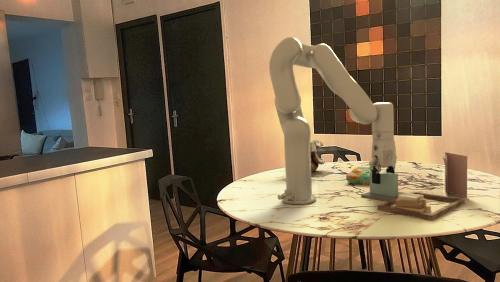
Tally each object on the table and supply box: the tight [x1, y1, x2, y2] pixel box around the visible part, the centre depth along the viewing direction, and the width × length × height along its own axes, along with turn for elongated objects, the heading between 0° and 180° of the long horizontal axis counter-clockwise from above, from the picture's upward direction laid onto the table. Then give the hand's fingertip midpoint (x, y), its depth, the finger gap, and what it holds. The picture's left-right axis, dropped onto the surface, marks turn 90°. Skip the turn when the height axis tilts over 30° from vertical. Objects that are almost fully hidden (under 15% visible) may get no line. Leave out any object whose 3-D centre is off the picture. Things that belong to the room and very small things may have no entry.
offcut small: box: [398, 192, 424, 203], centre depth 134 cm, size 5×6×2 cm
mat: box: [360, 191, 405, 202], centre depth 155 cm, size 12×12×1 cm
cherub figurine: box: [310, 139, 334, 178], centre depth 202 cm, size 18×18×18 cm
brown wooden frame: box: [377, 191, 466, 221], centre depth 139 cm, size 24×18×2 cm
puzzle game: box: [345, 166, 382, 185], centre depth 184 cm, size 12×5×20 cm
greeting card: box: [442, 151, 468, 199], centre depth 150 cm, size 11×7×15 cm, turn 159°
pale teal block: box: [369, 171, 399, 197], centre depth 154 cm, size 3×10×8 cm, turn 41°
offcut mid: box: [395, 198, 427, 210], centre depth 134 cm, size 6×8×2 cm
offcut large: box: [390, 204, 432, 214], centre depth 134 cm, size 7×10×2 cm
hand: (383, 181), depth 154 cm, fingers open, 9 cm apart
